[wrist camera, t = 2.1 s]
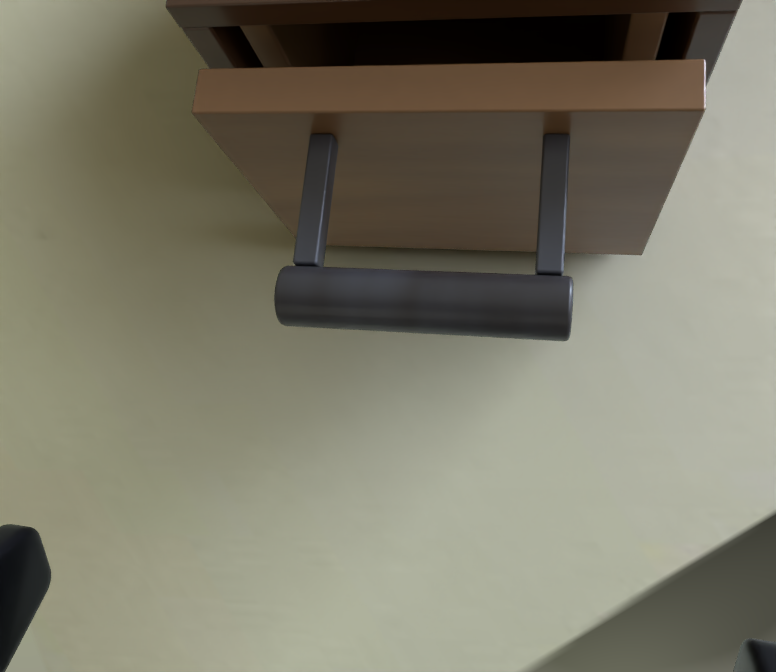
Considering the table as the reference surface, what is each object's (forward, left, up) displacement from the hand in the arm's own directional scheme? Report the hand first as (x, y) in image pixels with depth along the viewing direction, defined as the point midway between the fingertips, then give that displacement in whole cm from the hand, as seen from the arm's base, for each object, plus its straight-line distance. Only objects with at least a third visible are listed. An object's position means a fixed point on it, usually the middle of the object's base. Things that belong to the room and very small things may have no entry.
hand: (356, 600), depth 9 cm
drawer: (+7, +11, -14) cm, 19 cm away
